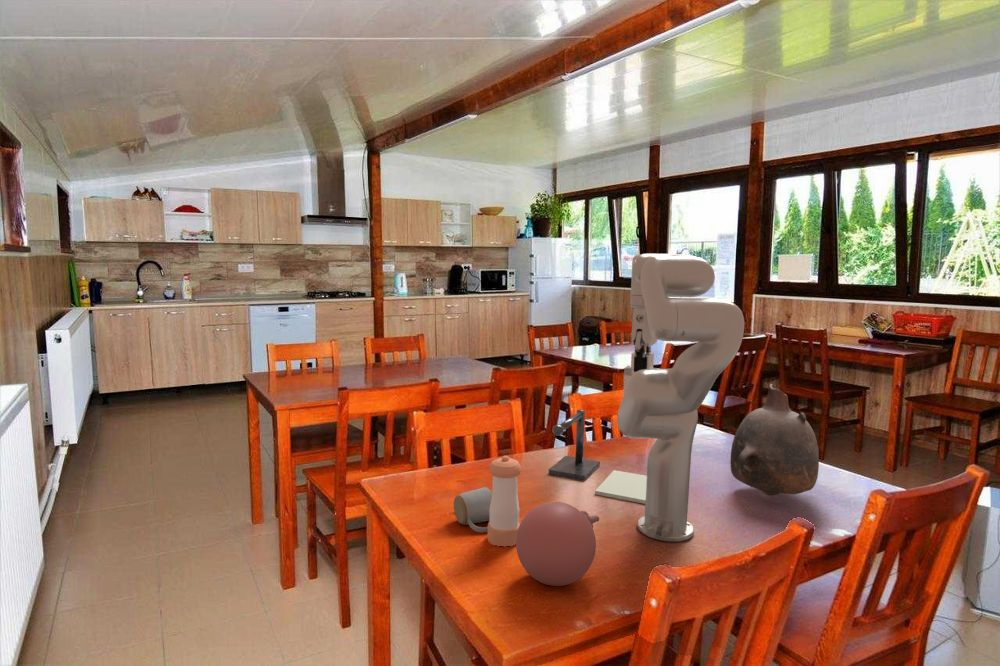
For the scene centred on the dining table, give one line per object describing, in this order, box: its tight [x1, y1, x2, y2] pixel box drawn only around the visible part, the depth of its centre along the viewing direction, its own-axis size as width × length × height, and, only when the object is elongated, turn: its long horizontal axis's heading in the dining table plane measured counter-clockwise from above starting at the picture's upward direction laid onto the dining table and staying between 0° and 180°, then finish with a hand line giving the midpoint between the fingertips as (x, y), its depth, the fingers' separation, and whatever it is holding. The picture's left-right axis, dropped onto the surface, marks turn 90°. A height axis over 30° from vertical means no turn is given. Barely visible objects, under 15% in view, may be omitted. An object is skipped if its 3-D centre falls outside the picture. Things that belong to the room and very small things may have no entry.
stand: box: [548, 409, 601, 482], centre depth 176 cm, size 24×11×18 cm, turn 154°
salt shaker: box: [487, 455, 522, 547], centre depth 136 cm, size 7×7×19 cm
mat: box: [594, 469, 647, 505], centre depth 168 cm, size 18×18×1 cm
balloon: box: [515, 501, 600, 587], centre depth 120 cm, size 15×20×15 cm
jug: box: [729, 383, 820, 497], centre depth 163 cm, size 24×21×30 cm
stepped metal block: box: [622, 351, 661, 397], centre depth 164 cm, size 4×8×14 cm, turn 64°
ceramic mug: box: [453, 486, 492, 534], centre depth 144 cm, size 11×8×8 cm
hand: (641, 370), depth 164 cm, fingers closed on stepped metal block, 4 cm apart
